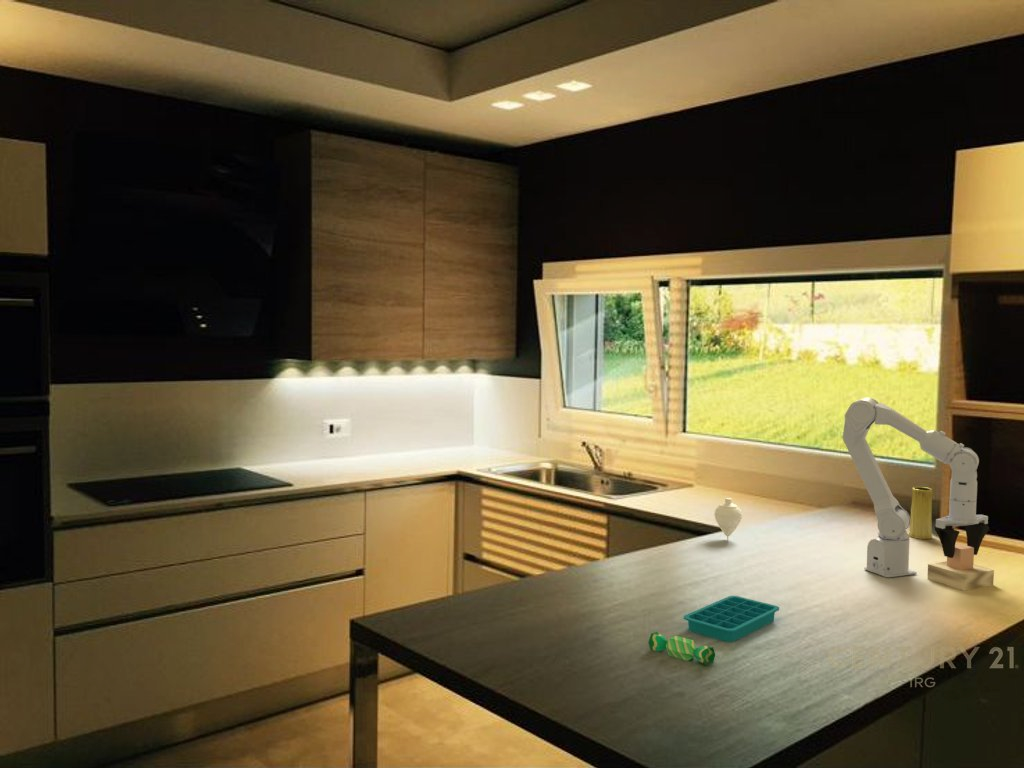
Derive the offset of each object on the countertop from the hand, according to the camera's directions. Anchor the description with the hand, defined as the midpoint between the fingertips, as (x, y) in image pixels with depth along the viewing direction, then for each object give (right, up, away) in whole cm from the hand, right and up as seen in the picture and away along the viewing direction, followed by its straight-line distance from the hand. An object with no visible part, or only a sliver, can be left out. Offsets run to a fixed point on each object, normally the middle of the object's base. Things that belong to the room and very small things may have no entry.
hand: (960, 555), depth 206 cm
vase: (+11, -4, +44) cm, 46 cm away
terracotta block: (0, -3, 0) cm, 3 cm away
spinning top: (-46, -4, +40) cm, 61 cm away
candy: (-76, -10, -46) cm, 90 cm away
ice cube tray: (-62, -9, -29) cm, 70 cm away
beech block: (0, -7, 0) cm, 7 cm away
